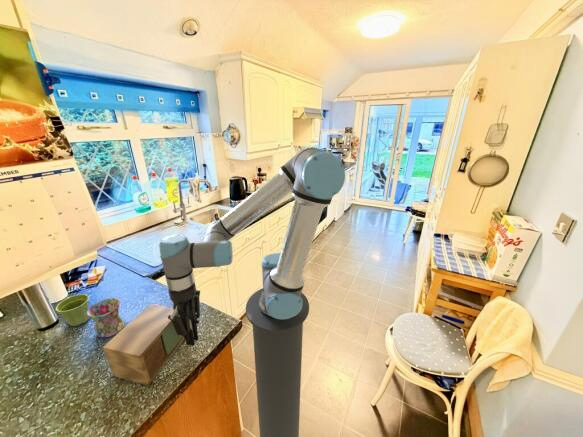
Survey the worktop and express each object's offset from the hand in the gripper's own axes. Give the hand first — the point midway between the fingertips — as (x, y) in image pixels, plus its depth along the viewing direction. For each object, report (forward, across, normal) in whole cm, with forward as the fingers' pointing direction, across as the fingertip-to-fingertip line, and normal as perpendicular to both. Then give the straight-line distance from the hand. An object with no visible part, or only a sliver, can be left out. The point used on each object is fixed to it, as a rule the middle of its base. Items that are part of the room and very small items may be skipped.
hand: (192, 341), depth 80 cm
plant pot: (+2, 0, -49) cm, 49 cm away
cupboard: (+2, +6, -11) cm, 13 cm away
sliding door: (+1, +2, -3) cm, 3 cm away
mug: (+2, +2, -33) cm, 33 cm away
